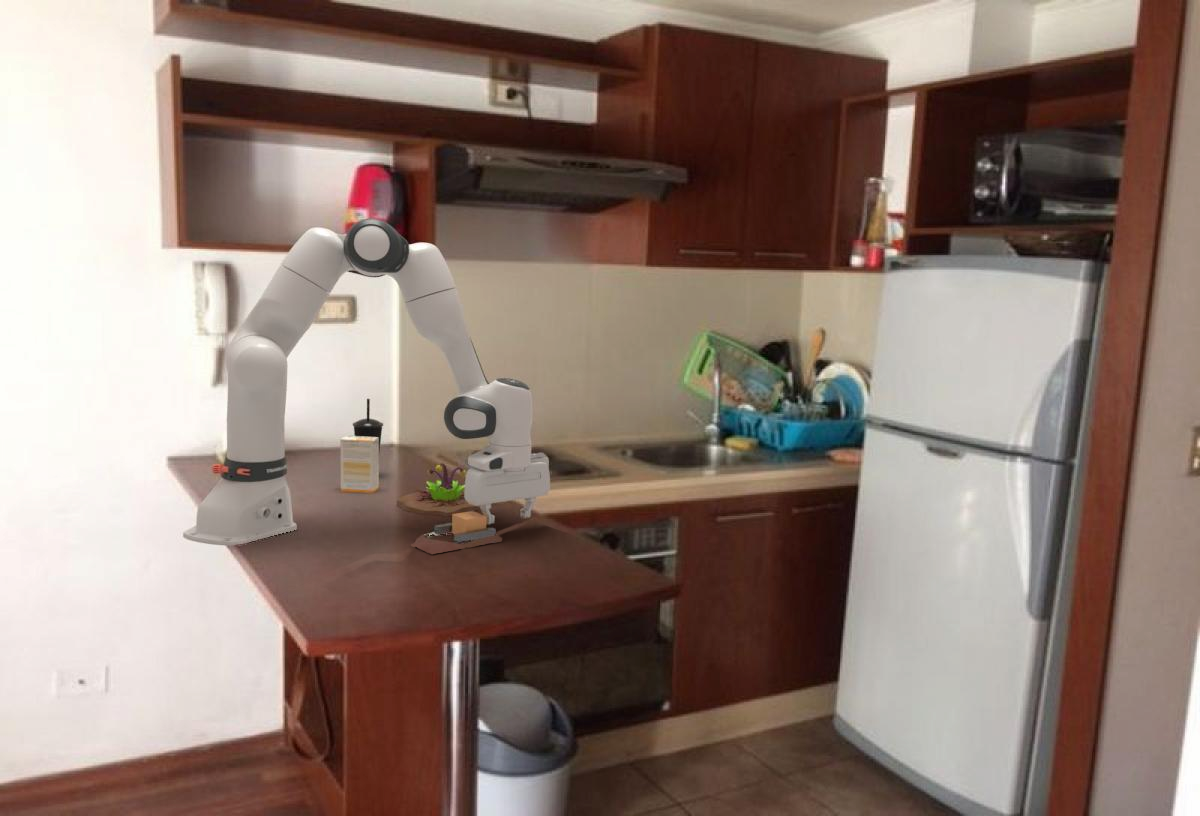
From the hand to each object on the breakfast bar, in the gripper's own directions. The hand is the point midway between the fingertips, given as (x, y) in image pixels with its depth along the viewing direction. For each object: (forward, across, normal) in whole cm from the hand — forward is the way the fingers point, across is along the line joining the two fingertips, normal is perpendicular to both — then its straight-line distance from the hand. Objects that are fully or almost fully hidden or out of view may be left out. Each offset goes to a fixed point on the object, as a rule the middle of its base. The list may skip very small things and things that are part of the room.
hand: (507, 520), depth 212 cm
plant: (+3, 0, -24) cm, 24 cm away
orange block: (+2, +10, 0) cm, 10 cm away
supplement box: (+3, +8, -48) cm, 49 cm away
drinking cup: (+3, -1, -62) cm, 62 cm away
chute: (+2, +19, 0) cm, 19 cm away
